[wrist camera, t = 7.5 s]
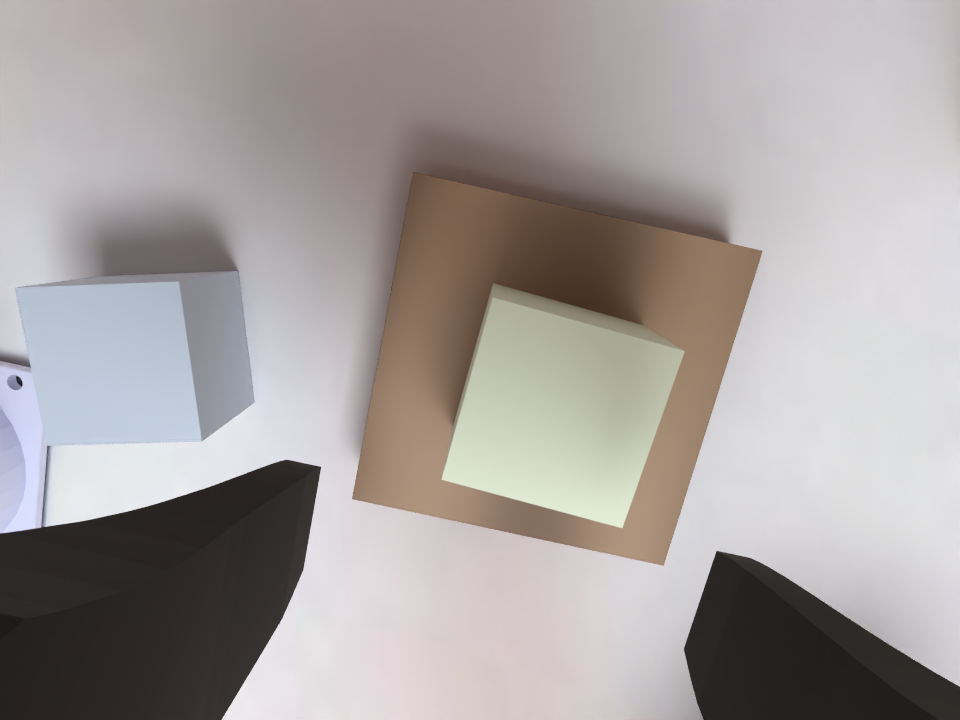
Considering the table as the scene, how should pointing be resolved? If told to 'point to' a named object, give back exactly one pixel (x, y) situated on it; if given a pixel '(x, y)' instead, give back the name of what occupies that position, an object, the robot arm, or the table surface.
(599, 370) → the sage block
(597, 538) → the walnut slab
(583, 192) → the table surface
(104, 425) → the blue block
